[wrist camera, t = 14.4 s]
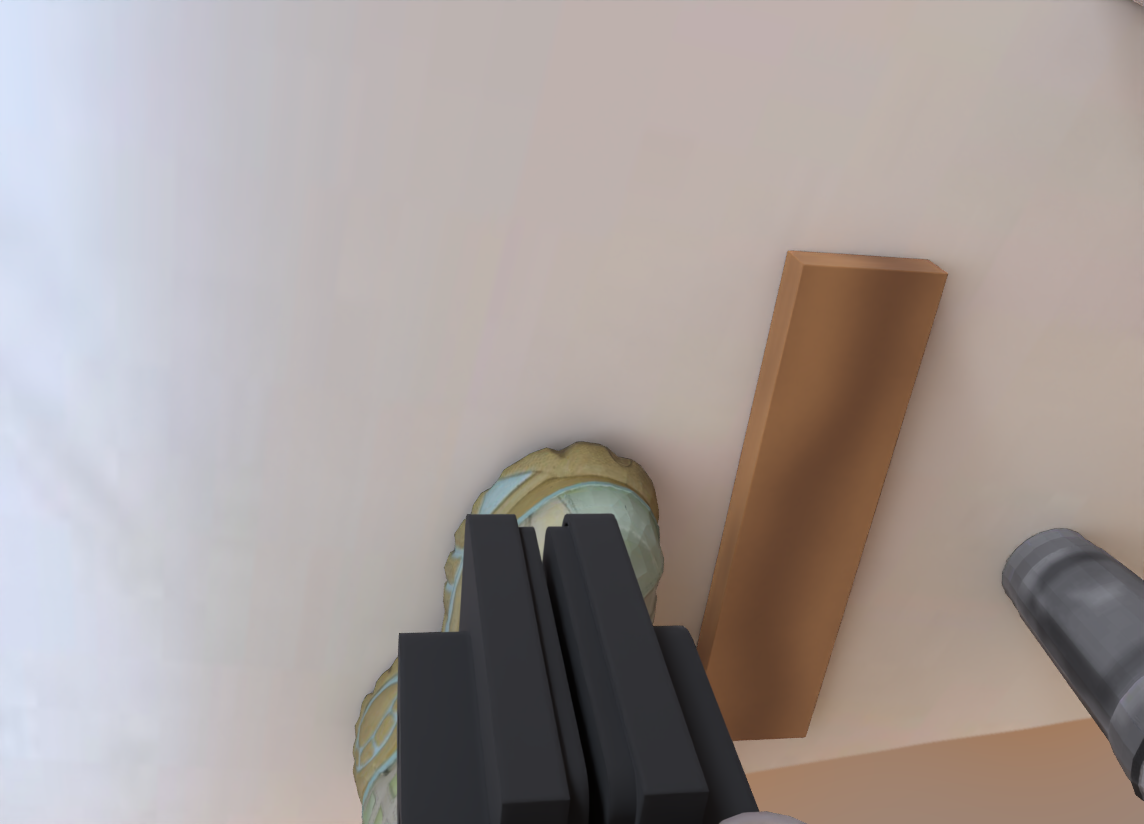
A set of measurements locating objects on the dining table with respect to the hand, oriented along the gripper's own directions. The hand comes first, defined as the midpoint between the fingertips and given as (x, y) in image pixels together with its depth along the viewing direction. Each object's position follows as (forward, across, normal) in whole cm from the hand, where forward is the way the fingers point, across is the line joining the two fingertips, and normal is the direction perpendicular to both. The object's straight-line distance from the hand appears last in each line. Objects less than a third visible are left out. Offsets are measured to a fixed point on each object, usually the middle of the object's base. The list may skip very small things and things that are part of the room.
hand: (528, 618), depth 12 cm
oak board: (+26, -16, +16) cm, 35 cm away
